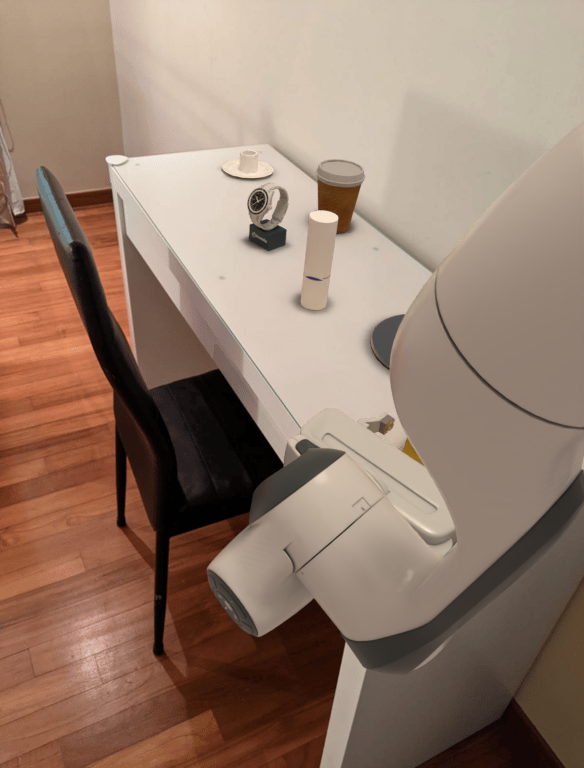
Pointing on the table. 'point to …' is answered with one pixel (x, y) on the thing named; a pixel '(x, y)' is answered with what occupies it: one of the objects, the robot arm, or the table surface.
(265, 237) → the watch
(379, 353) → the plate
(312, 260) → the tube
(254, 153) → the candle holder
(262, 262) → the table surface
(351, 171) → the disposable coffee cup
